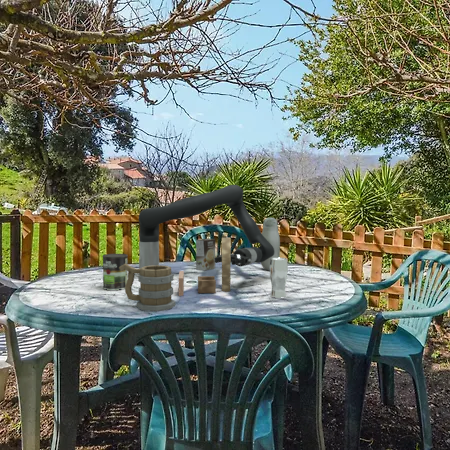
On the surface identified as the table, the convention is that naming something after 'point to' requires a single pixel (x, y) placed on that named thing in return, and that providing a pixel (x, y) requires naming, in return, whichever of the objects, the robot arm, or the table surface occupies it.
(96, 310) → the table surface
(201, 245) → the coffee box
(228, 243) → the dowel
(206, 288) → the cradle
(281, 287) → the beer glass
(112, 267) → the coffee can
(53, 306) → the table surface
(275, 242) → the grey water bottle
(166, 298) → the tankard
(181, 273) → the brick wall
